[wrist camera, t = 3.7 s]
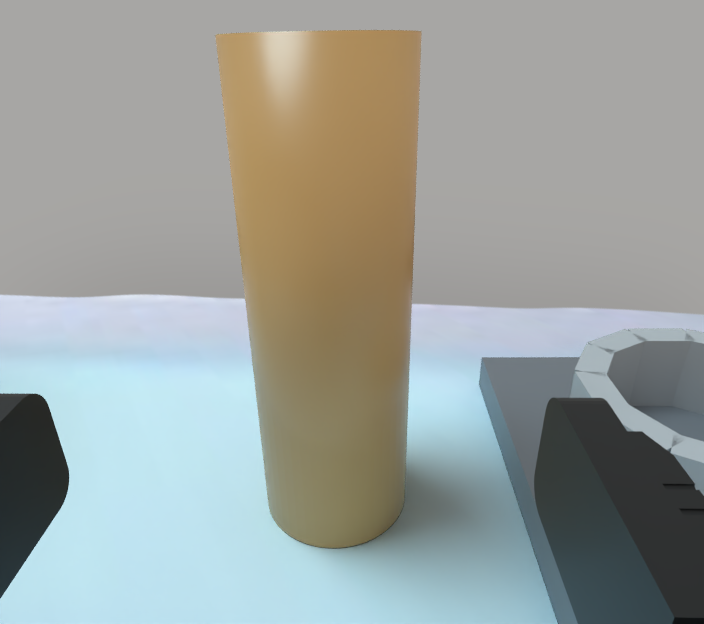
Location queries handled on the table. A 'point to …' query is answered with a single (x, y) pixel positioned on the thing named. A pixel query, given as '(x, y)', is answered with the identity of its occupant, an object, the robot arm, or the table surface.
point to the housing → (622, 395)
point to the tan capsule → (327, 265)
